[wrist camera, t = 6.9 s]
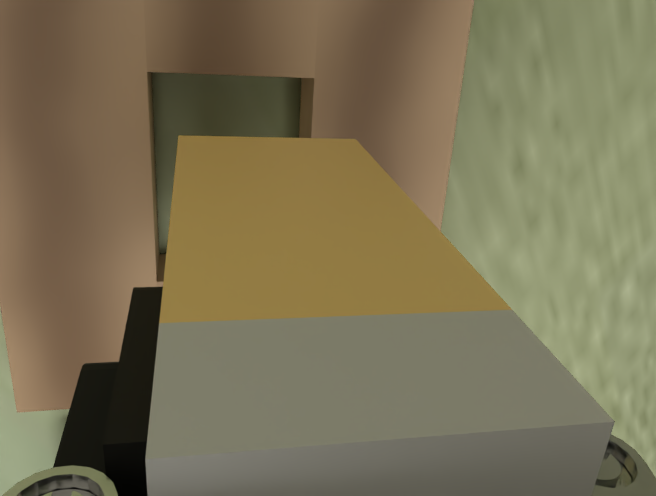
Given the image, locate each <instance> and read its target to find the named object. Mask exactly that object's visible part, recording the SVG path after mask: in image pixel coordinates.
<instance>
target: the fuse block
mask: <svg viewBox="0 0 656 496" xmlns="http://www.w3.org/2000/svg"><path fill="white" fill-rule="evenodd" d="M614 422H615V421H614V420H613V419H612V418H611V417H610V416H609V415H608V414H607V413H606V412H605V411H604V409H603V408H602V407H601V406H600V405H599V404H598V403H597V402H596V401H595V400H594V399H593V397H592V396H591V395H590V394H589V393H588V392H587V391H586V390H585V389H584V388H583V387H582V385H581V384H580V383H579V382H578V381H577V380H576V379H575V378H574V377H573V376H572V375H571V373H570V372H569V371H568V370H567V369H566V368H565V367H564V366H563V365H562V364H561V363H560V361H559V360H558V359H557V358H556V357H555V356H554V355H553V354H552V353H551V352H550V351H549V349H548V348H547V347H546V346H545V345H544V344H543V343H542V342H541V341H540V340H539V339H538V337H537V336H536V335H535V334H534V333H533V332H532V331H531V330H530V329H529V328H528V327H527V325H526V324H525V323H524V322H523V321H522V320H521V319H520V318H519V317H518V316H517V315H516V313H515V312H514V311H513V310H512V309H511V308H510V307H509V306H508V305H507V304H506V302H505V301H504V300H503V299H502V298H501V297H500V296H499V295H498V294H497V293H496V292H495V290H494V289H493V288H492V287H491V286H490V285H489V284H488V283H487V282H486V281H485V280H484V278H483V277H482V276H481V275H480V274H479V273H478V272H477V271H476V270H475V269H474V268H473V266H472V265H471V264H470V263H469V262H468V261H467V260H466V259H465V258H464V257H463V256H462V254H461V253H460V252H459V251H458V250H457V249H456V248H455V247H454V246H453V245H452V244H451V242H450V241H449V240H448V239H447V238H446V237H445V236H444V235H443V234H442V233H441V232H440V230H439V229H438V228H437V227H436V226H435V225H434V224H433V223H432V222H431V221H430V220H429V218H428V217H427V216H426V215H425V214H424V213H423V212H422V211H421V210H420V209H419V208H418V206H417V205H416V204H415V203H414V202H413V201H412V200H411V199H410V198H409V197H408V196H407V194H406V193H405V192H404V191H403V190H402V189H401V188H400V187H399V186H398V185H397V184H396V182H395V181H394V180H393V179H392V178H391V177H390V176H389V175H388V174H387V173H386V172H385V170H384V169H383V168H382V167H381V166H380V165H379V164H378V163H377V162H376V161H375V160H374V158H373V157H372V156H371V155H370V154H369V153H368V152H367V151H366V150H365V149H364V148H363V146H362V145H361V144H360V143H359V142H358V141H357V140H356V139H330V138H281V137H233V136H184V135H178V145H177V154H176V164H175V174H174V184H173V194H172V203H171V213H170V223H169V233H168V242H167V252H166V262H165V272H164V281H163V291H162V301H161V311H160V320H159V330H158V340H157V350H156V359H155V369H154V379H153V389H152V398H151V408H150V418H149V428H148V437H147V447H146V457H145V463H146V479H147V494H148V496H591V495H592V492H593V489H594V486H595V483H596V479H597V476H598V473H599V470H600V467H601V463H602V460H603V457H604V454H605V451H606V448H607V444H608V441H609V438H610V435H611V432H612V429H613V425H614Z"/></svg>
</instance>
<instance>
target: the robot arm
mask: <svg viewBox="0 0 656 496" xmlns="http://www.w3.org/2000/svg"><path fill="white" fill-rule="evenodd" d="M162 291H163V287H133V291H132V296H131V301H130V306H129V312H128V317H127V322H126V327H125V332H124V338H123V343H122V348H121V353H120V358H119V362H101V363H85V364H83V366H82V368H81V371H80V375H79V378H78V382H77V385H76V389H75V392H74V396H73V399H72V403H71V406H70V410H69V413H68V417H67V421H66V424H65V428H64V431H63V435H62V438H61V442H60V445H59V449H58V452H57V456H56V460H55V463H54V467H53V468H51V469H47V470H44V471H41V472H38V473H35V474H33V475H31V476H29V477H27V478H25V479H23V480H22V481H20V482H18V483H17V484H15V485H14V486H13V487H12V488H11V489H9V490H8V491H7V492H6V493H4V494H3V495H2V496H148V494H147V479H146V463H145V457H146V447H147V437H148V428H149V418H150V408H151V398H152V389H153V379H154V369H155V359H156V350H157V340H158V330H159V320H160V311H161V301H162ZM591 496H656V478H655V476H654V475H653V473H652V472H651V470H650V469H649V467H648V465H647V464H646V462H645V461H644V460H643V459H642V457H641V456H640V455H639V454H638V453H637V452H636V450H635V449H633V448H632V447H631V446H629V445H628V444H627V443H625V442H624V441H623V440H621V439H619V438H617V437H615V436H613V435H610V438H609V441H608V444H607V448H606V451H605V454H604V457H603V460H602V463H601V467H600V470H599V473H598V476H597V479H596V483H595V486H594V489H593V492H592V495H591Z"/></svg>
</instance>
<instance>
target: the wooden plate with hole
mask: <svg viewBox="0 0 656 496" xmlns="http://www.w3.org/2000/svg"><path fill="white" fill-rule="evenodd" d="M473 5H474V0H0V307H1V313H2V320H3V326H4V332H5V339H6V345H7V351H8V358H9V364H10V370H11V377H12V383H13V390H14V396H15V402H16V409H17V412H30V411H44V410H58V409H70V406H71V403H72V399H73V396H74V392H75V389H76V385H77V382H78V378H79V375H80V371H81V368H82V366H83V364H85V363H101V362H119V358H120V353H121V348H122V343H123V338H124V332H125V327H126V322H127V317H128V312H129V306H130V301H131V296H132V291H133V287H163V281H164V272H165V262H166V254H159V234H158V211H157V188H156V165H155V142H154V119H153V96H152V73H151V72H165V73H191V74H217V75H243V76H269V77H295V78H302V81H301V102H300V123H299V138H330V139H356V140H357V141H358V142H359V143H360V144H361V145H362V146H363V148H364V149H365V150H366V151H367V152H368V153H369V154H370V155H371V156H372V157H373V158H374V160H375V161H376V162H377V163H378V164H379V165H380V166H381V167H382V168H383V169H384V170H385V172H386V173H387V174H388V175H389V176H390V177H391V178H392V179H393V180H394V181H395V182H396V184H397V185H398V186H399V187H400V188H401V189H402V190H403V191H404V192H405V193H406V194H407V196H408V197H409V198H410V199H411V200H412V201H413V202H414V203H415V204H416V205H417V206H418V208H419V209H420V210H421V211H422V212H423V213H424V214H425V215H426V216H427V217H428V218H429V220H430V221H431V222H432V223H433V224H434V225H435V226H436V227H437V228H438V229H439V230H440V231H441V224H442V217H443V210H444V204H445V197H446V190H447V183H448V176H449V169H450V162H451V156H452V149H453V142H454V135H455V128H456V121H457V114H458V108H459V101H460V94H461V87H462V80H463V73H464V67H465V60H466V53H467V46H468V39H469V32H470V25H471V19H472V12H473Z"/></svg>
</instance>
